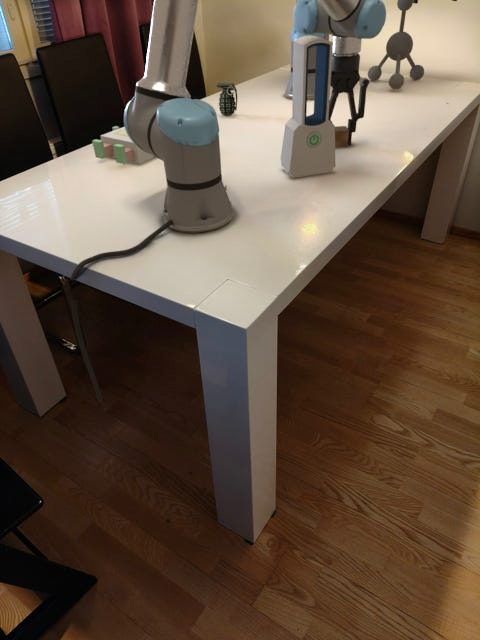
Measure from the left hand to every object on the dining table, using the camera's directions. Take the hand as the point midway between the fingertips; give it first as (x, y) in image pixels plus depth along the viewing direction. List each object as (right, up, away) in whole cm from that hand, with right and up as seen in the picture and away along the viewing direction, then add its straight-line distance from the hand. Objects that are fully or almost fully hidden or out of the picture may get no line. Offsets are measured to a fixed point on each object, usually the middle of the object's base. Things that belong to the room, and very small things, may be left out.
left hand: (338, 144), depth 140 cm
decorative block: (-57, 0, +4) cm, 57 cm away
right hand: (+40, +61, +30) cm, 78 cm away
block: (0, 0, 0) cm, 0 cm away
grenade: (-32, +21, +29) cm, 48 cm away
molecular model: (+35, +44, +54) cm, 78 cm away
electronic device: (-11, -12, -14) cm, 21 cm away
